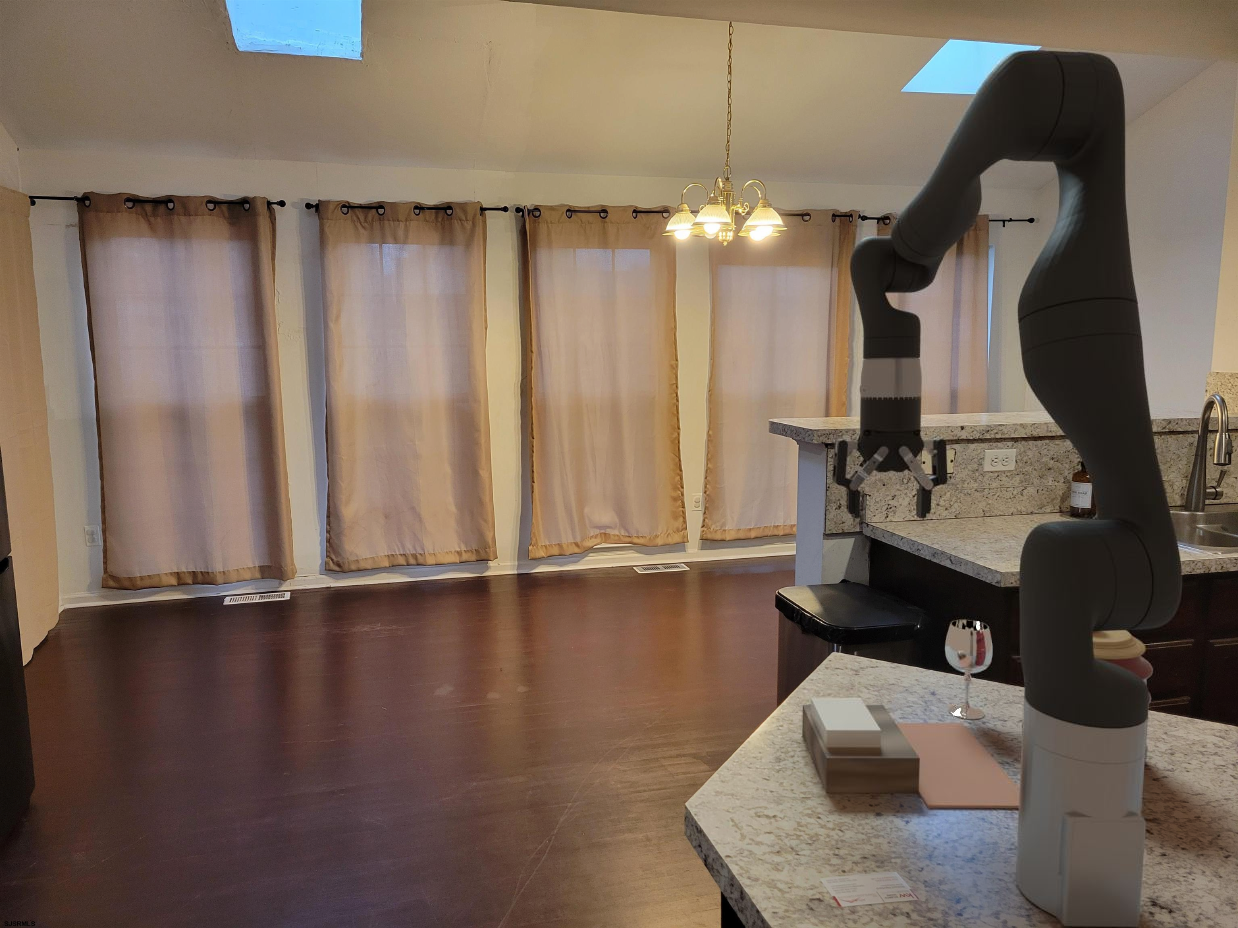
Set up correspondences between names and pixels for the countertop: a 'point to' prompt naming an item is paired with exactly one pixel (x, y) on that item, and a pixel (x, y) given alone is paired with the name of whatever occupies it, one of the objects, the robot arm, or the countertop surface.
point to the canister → (1122, 654)
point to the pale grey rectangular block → (845, 722)
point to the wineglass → (968, 658)
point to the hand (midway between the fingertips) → (888, 517)
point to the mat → (958, 768)
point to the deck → (865, 759)
